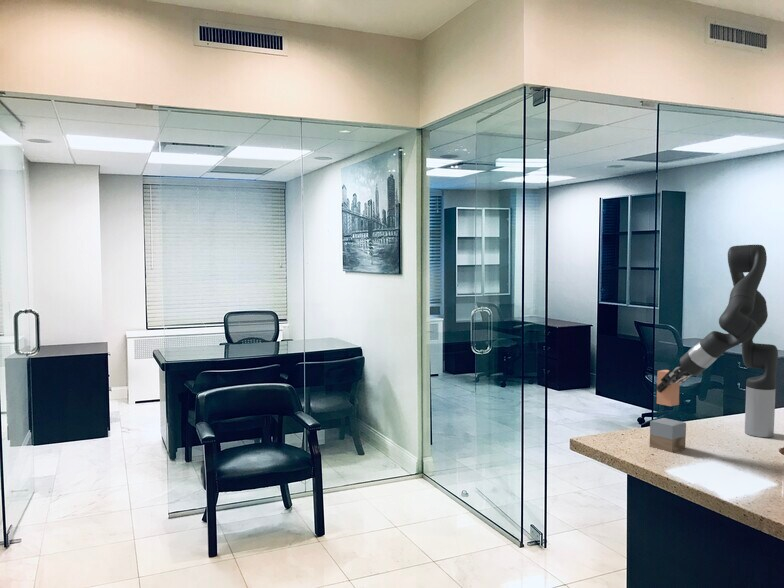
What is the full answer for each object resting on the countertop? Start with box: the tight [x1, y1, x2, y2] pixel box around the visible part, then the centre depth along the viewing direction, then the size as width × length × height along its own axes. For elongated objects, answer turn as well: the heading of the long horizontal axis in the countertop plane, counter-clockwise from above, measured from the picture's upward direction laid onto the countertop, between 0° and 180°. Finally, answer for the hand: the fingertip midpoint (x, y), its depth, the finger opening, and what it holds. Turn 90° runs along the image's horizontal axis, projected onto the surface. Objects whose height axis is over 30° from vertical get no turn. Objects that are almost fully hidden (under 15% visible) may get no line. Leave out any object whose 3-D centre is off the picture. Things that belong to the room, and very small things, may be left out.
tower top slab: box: [649, 417, 687, 440], centre depth 210 cm, size 8×8×4 cm
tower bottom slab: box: [649, 433, 687, 453], centre depth 210 cm, size 8×8×4 cm
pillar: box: [656, 369, 681, 407], centre depth 209 cm, size 5×5×11 cm
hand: (662, 389), depth 211 cm, fingers closed on pillar, 5 cm apart
